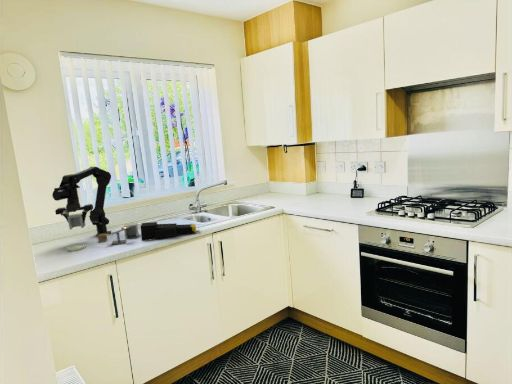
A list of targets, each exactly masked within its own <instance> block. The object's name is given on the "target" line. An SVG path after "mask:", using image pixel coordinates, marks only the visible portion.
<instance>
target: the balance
mask: <svg viewBox="0 0 512 384" xmlns="http://www.w3.org/2000/svg"><path fill="white" fill-rule="evenodd" d="M128 228H130V227H129V226H126V227H124V226H122V227H121V228H120V229H119V230H117V231H115V232H112V230H107V234H105V235H106V236H107V237H108V236H113V235H115V234H116V240H114V241H112V243H111V246H115V245H123V244H124V245H125V244H126V242H127V239H121V236H120V232H122V231H124V230H125V229H128Z"/></svg>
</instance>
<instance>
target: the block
mask: <svg viewBox="0 0 512 384" xmlns="http://www.w3.org/2000/svg"><path fill="white" fill-rule="evenodd" d="M105 234H106V233H103V234H99V235H98V236H97V240H98V241H97V242H98V243H105V242H107V241H108V236H106V235H105Z"/></svg>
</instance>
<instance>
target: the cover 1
mask: <svg viewBox="0 0 512 384" xmlns="http://www.w3.org/2000/svg"><path fill="white" fill-rule="evenodd" d="M67 222H69V223H68V227H69V231H70V230H72V229H73V228H77V227H80V228H81V229H83V228H85V226H86V222H85V223H83V214H82V212H81V213H72V214H69V216H68V221H67Z"/></svg>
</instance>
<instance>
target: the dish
mask: <svg viewBox="0 0 512 384" xmlns="http://www.w3.org/2000/svg"><path fill="white" fill-rule="evenodd" d="M86 247H87V245H86V244H85V243H78V244H74V245H70V246H67V248H66V250H67V252H77V251H81V250H83V249H85V248H86Z"/></svg>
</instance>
